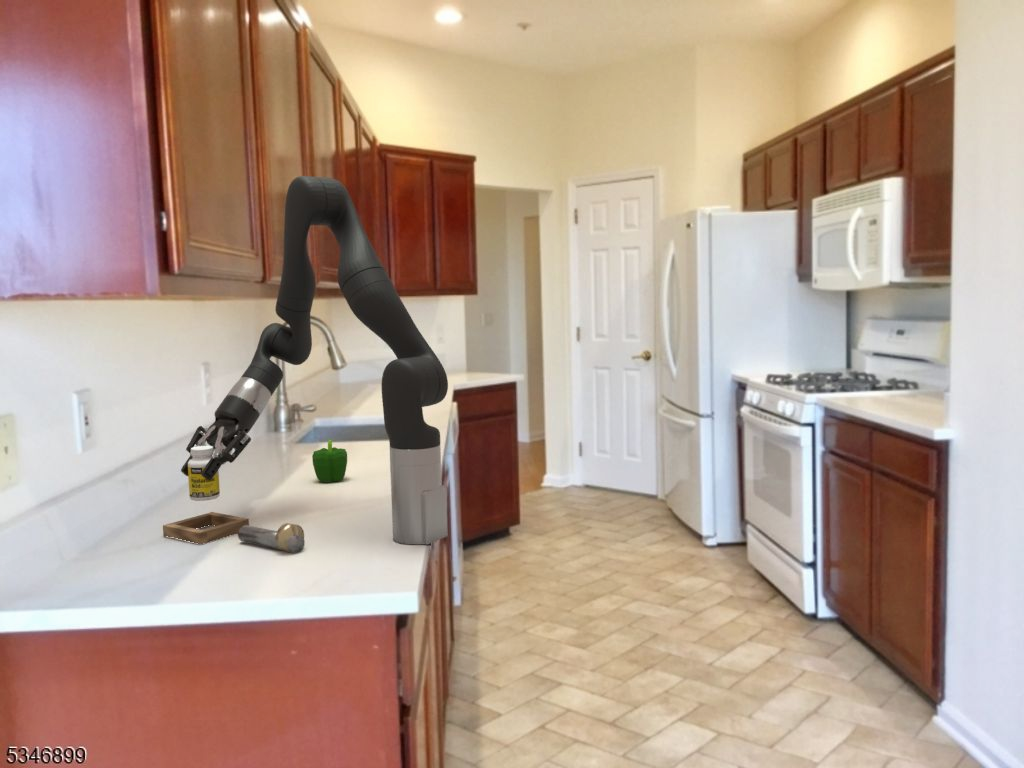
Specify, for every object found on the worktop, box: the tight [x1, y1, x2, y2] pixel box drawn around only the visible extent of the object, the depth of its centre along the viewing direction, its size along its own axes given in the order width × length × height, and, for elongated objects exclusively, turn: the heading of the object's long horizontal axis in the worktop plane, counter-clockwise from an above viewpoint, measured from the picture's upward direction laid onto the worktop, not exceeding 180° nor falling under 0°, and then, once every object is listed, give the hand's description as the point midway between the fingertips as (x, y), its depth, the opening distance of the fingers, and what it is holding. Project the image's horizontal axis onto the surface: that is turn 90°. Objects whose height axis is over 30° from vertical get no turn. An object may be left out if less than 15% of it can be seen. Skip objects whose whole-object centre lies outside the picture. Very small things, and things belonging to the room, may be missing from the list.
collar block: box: [162, 511, 250, 545], centre depth 150 cm, size 11×11×2 cm
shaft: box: [237, 522, 306, 554], centre depth 140 cm, size 14×5×5 cm, turn 58°
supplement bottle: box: [187, 445, 221, 502], centre depth 149 cm, size 5×5×10 cm
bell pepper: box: [311, 439, 348, 483], centre depth 194 cm, size 8×8×10 cm
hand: (195, 475), depth 148 cm, fingers closed on supplement bottle, 5 cm apart
